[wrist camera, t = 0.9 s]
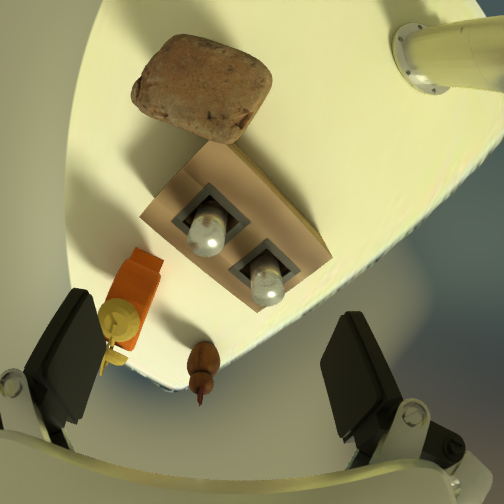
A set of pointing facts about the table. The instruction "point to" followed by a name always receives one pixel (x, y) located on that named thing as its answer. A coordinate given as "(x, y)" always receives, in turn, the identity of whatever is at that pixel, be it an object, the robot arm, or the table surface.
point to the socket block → (237, 220)
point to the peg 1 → (208, 229)
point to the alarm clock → (128, 304)
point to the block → (203, 87)
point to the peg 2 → (266, 279)
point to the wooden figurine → (202, 369)
